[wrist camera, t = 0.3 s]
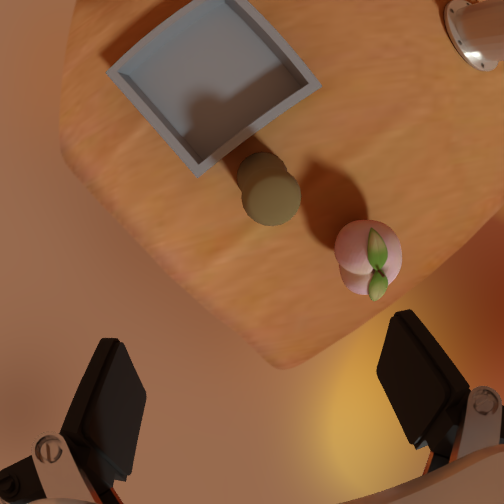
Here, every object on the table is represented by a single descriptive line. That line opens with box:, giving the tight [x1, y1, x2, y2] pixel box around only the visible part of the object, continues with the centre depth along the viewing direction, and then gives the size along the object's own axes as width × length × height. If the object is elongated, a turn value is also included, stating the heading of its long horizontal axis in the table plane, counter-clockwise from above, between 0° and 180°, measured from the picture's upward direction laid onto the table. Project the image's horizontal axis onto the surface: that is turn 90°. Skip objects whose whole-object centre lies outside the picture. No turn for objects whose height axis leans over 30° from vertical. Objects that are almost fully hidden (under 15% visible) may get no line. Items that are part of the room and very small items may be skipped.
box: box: [105, 0, 322, 178], centre depth 26 cm, size 16×16×4 cm
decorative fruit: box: [334, 220, 402, 301], centre depth 33 cm, size 9×8×10 cm
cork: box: [237, 152, 301, 226], centre depth 29 cm, size 6×6×11 cm
